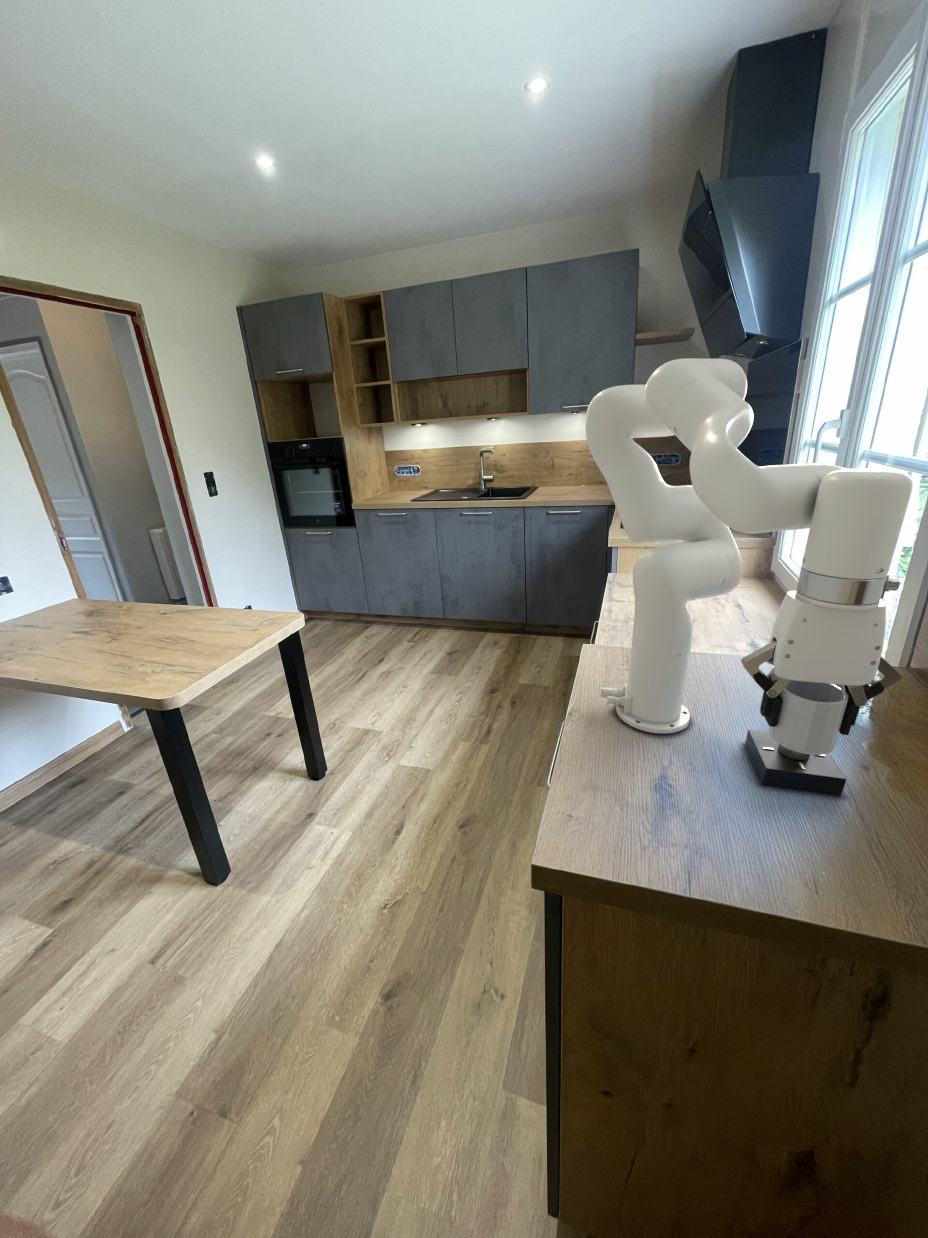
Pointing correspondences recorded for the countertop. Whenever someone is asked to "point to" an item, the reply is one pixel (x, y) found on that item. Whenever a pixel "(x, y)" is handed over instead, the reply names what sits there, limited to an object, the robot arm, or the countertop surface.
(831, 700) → the pot
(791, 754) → the oven knob
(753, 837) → the countertop surface
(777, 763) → the panel
